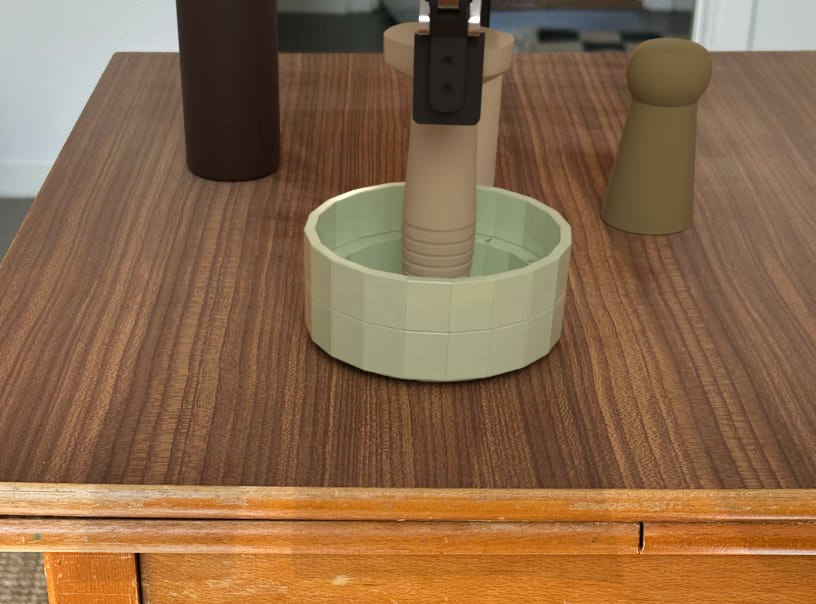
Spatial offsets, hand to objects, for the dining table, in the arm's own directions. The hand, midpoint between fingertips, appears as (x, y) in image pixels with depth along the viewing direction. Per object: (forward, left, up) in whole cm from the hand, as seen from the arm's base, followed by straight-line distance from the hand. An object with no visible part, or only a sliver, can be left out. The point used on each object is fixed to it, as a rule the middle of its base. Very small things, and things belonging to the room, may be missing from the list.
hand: (451, 91), depth 66 cm
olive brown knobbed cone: (-13, -19, -13) cm, 26 cm away
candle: (0, -21, -13) cm, 25 cm away
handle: (0, 0, -13) cm, 13 cm away
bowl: (0, 0, -13) cm, 13 cm away
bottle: (+16, -25, -13) cm, 33 cm away
